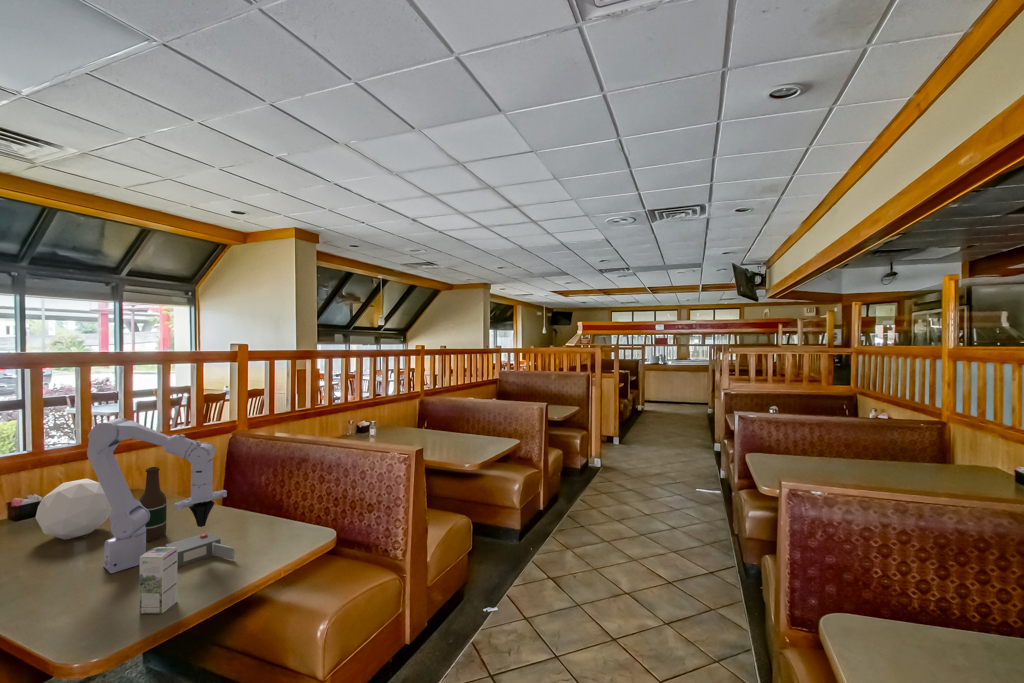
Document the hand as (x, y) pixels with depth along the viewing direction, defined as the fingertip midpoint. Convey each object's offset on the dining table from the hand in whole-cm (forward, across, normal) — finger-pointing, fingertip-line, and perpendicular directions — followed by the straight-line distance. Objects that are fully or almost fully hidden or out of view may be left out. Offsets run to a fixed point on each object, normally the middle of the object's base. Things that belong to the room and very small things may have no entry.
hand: (201, 525), depth 142 cm
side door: (+9, +2, -8) cm, 12 cm away
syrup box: (+10, -21, -21) cm, 31 cm away
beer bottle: (+10, 0, +29) cm, 30 cm away
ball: (+10, -11, +54) cm, 56 cm away
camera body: (+9, -1, +2) cm, 10 cm away
